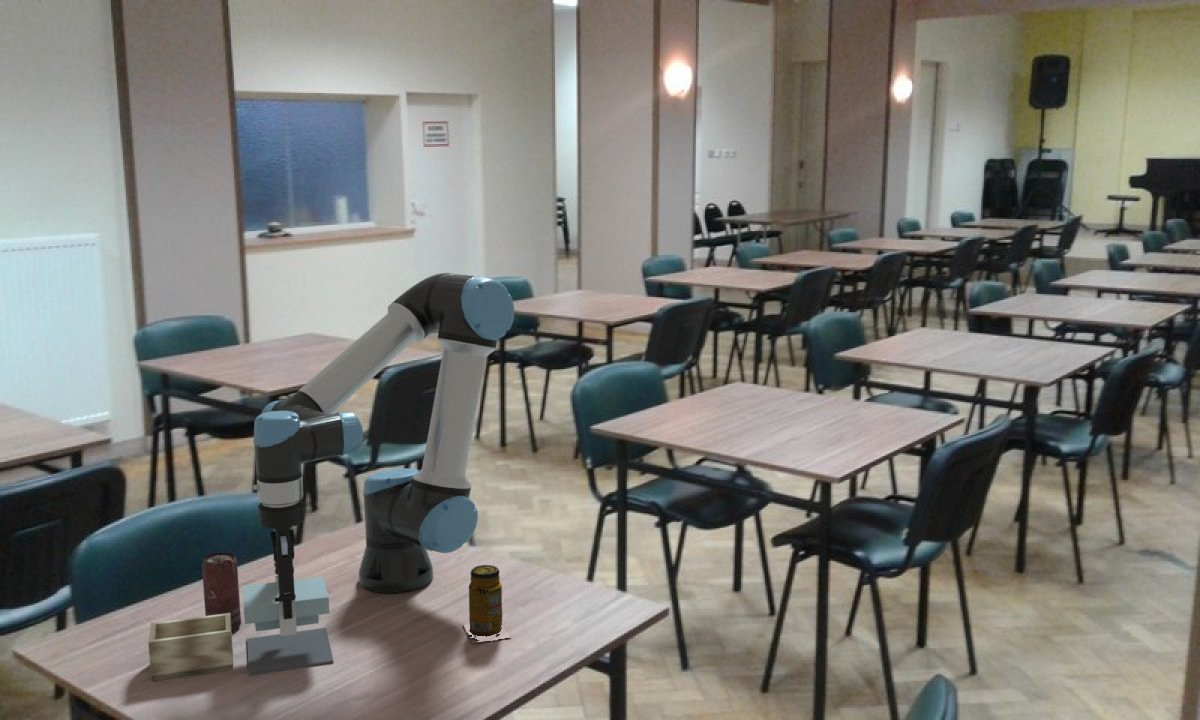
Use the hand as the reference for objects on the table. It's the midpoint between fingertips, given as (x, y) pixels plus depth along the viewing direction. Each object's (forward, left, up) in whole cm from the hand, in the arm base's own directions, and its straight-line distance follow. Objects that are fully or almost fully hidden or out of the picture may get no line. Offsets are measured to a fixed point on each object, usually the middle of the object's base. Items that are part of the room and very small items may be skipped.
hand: (286, 621), depth 191 cm
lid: (0, 0, +3) cm, 3 cm away
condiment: (-35, +4, -6) cm, 36 cm away
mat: (0, 0, -6) cm, 6 cm away
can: (+11, -14, -6) cm, 18 cm away
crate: (+16, 0, -6) cm, 17 cm away
